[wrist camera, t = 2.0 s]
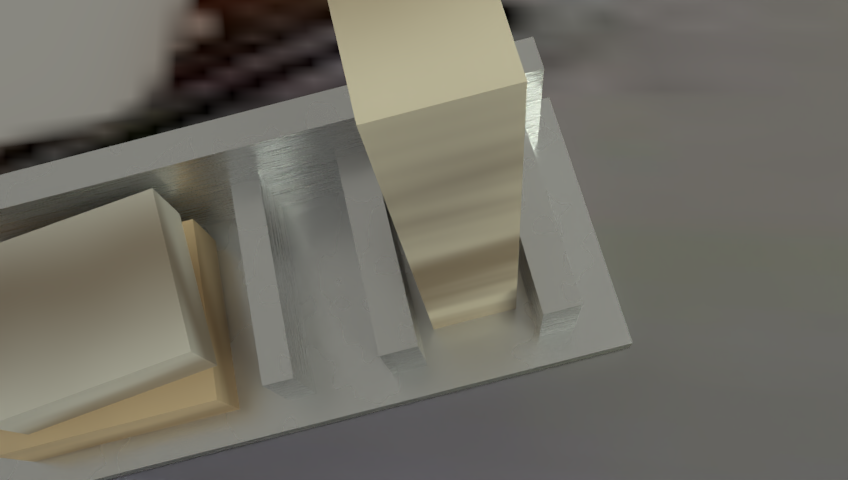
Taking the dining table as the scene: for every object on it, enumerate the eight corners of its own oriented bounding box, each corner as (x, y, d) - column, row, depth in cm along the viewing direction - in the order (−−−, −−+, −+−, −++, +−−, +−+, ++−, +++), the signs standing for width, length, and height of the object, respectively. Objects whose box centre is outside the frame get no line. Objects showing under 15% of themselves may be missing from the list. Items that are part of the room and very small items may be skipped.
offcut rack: (629, 347, 22) (660, 304, 17) (-4, 507, 22) (-130, 505, 17) (548, 106, 24) (557, 18, 20) (-12, 251, 25) (-121, 194, 20)
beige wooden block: (515, 308, 22) (527, 81, 10) (433, 329, 22) (356, 125, 10) (476, 169, 23) (448, -158, 12) (398, 188, 23) (299, -119, 12)
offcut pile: (244, 408, 21) (195, 387, 18) (33, 462, 22) (-55, 450, 18) (218, 231, 23) (169, 183, 20) (24, 281, 23) (-56, 241, 20)
